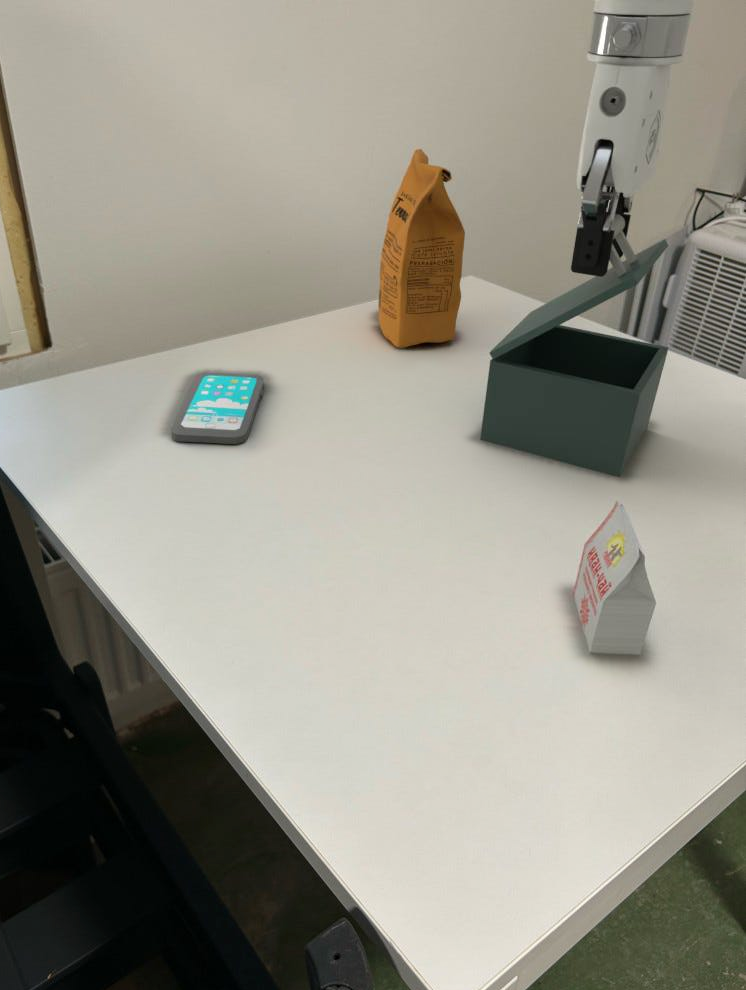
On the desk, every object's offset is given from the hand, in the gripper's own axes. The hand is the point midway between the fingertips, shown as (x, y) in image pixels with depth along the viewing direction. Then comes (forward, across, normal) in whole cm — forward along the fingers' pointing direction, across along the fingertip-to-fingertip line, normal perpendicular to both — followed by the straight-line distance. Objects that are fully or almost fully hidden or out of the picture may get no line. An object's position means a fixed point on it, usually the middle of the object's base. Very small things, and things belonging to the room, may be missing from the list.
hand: (597, 262), depth 78 cm
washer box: (+19, 0, 0) cm, 19 cm away
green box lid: (+4, 0, +1) cm, 4 cm away
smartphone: (+18, -14, +36) cm, 42 cm away
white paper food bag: (+19, -28, -12) cm, 36 cm away
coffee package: (+19, +18, +27) cm, 37 cm away
